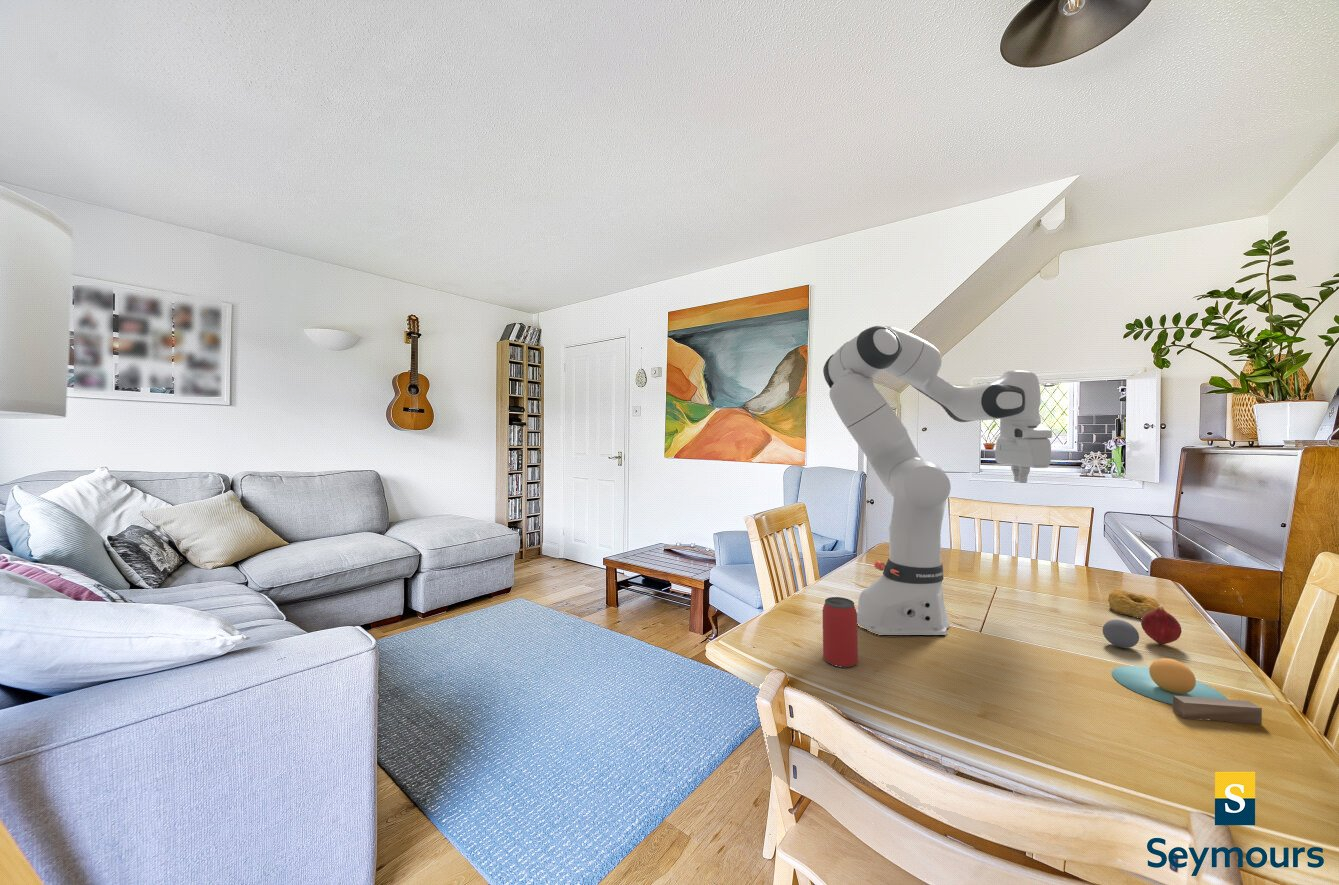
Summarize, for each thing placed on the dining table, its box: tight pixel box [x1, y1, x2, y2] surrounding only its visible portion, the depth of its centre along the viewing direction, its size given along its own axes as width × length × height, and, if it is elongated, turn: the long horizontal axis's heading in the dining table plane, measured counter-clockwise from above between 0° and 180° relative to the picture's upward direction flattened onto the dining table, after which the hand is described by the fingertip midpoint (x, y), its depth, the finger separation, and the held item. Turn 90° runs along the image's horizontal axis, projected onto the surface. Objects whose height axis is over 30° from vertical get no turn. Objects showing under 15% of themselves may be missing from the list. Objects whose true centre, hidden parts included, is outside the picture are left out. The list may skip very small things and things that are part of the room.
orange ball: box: [1148, 657, 1197, 694], centre depth 81 cm, size 6×6×6 cm
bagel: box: [1107, 589, 1161, 619], centre depth 116 cm, size 10×11×5 cm
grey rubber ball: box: [1102, 619, 1140, 649], centre depth 98 cm, size 6×6×6 cm
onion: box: [1140, 605, 1182, 646], centre depth 99 cm, size 6×6×8 cm
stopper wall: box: [1172, 696, 1263, 725], centre depth 74 cm, size 2×10×2 cm, turn 79°
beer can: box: [822, 596, 859, 668], centre depth 94 cm, size 7×7×12 cm
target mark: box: [1111, 665, 1228, 706], centre depth 83 cm, size 14×14×1 cm
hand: (1020, 482), depth 127 cm, fingers closed
